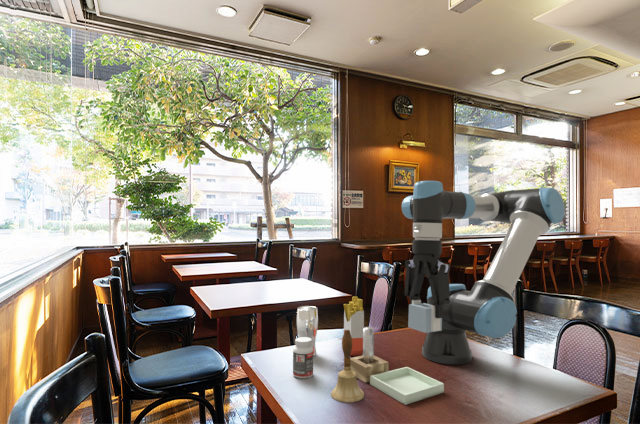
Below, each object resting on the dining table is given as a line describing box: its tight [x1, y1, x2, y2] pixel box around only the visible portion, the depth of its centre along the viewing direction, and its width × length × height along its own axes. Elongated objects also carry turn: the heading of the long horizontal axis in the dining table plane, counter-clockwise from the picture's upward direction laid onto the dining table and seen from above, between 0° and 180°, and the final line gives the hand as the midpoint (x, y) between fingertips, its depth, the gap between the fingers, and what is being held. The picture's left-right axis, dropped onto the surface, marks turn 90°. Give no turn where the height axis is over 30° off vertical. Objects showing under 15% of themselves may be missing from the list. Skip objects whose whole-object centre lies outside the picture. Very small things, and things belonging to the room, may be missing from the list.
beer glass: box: [296, 305, 319, 358], centre depth 123 cm, size 7×7×15 cm
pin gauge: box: [362, 326, 375, 364], centre depth 107 cm, size 3×3×13 cm
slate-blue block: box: [407, 302, 442, 334], centre depth 99 cm, size 6×6×6 cm
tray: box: [369, 366, 445, 406], centre depth 98 cm, size 13×13×2 cm
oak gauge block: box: [350, 354, 390, 384], centre depth 107 cm, size 8×8×4 cm
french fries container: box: [343, 296, 365, 357], centre depth 125 cm, size 5×11×18 cm, turn 9°
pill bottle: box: [292, 337, 314, 379], centre depth 106 cm, size 6×6×10 cm
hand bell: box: [330, 330, 365, 404], centre depth 94 cm, size 8×8×16 cm
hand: (425, 327), depth 99 cm, fingers closed on slate-blue block, 6 cm apart
